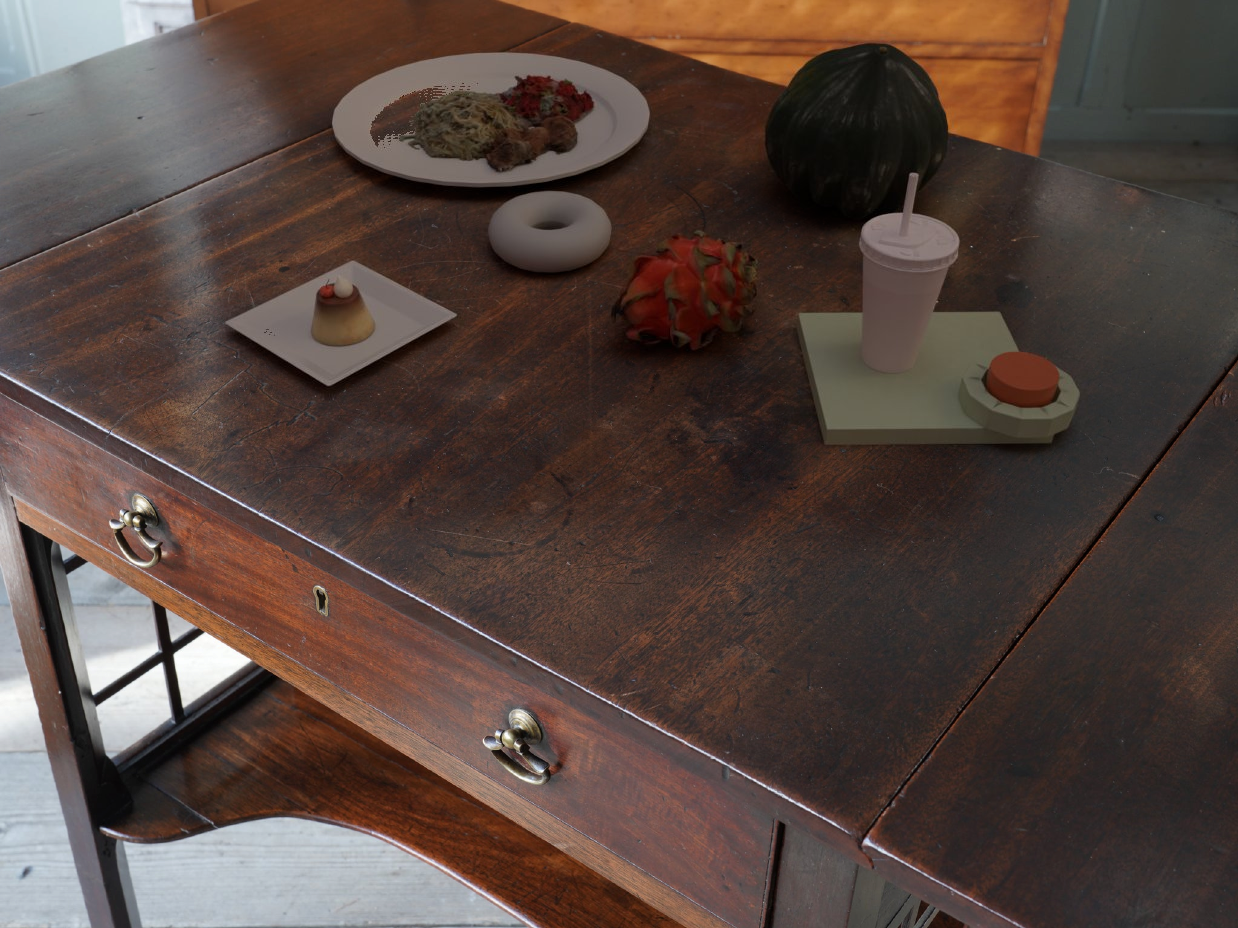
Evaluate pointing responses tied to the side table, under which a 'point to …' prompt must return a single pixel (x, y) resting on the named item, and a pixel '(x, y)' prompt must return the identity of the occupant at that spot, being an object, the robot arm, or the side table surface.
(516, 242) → the donut
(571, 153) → the plated food
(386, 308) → the dessert
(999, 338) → the scale
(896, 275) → the smoothie
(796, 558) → the side table surface
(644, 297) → the dragon fruit
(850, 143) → the squash
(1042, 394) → the button
